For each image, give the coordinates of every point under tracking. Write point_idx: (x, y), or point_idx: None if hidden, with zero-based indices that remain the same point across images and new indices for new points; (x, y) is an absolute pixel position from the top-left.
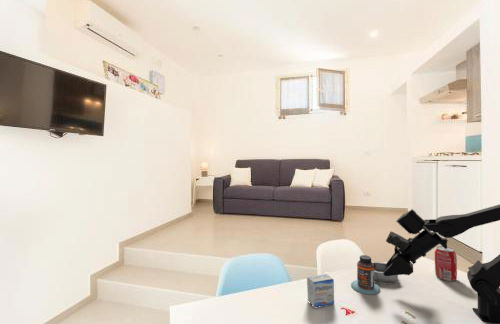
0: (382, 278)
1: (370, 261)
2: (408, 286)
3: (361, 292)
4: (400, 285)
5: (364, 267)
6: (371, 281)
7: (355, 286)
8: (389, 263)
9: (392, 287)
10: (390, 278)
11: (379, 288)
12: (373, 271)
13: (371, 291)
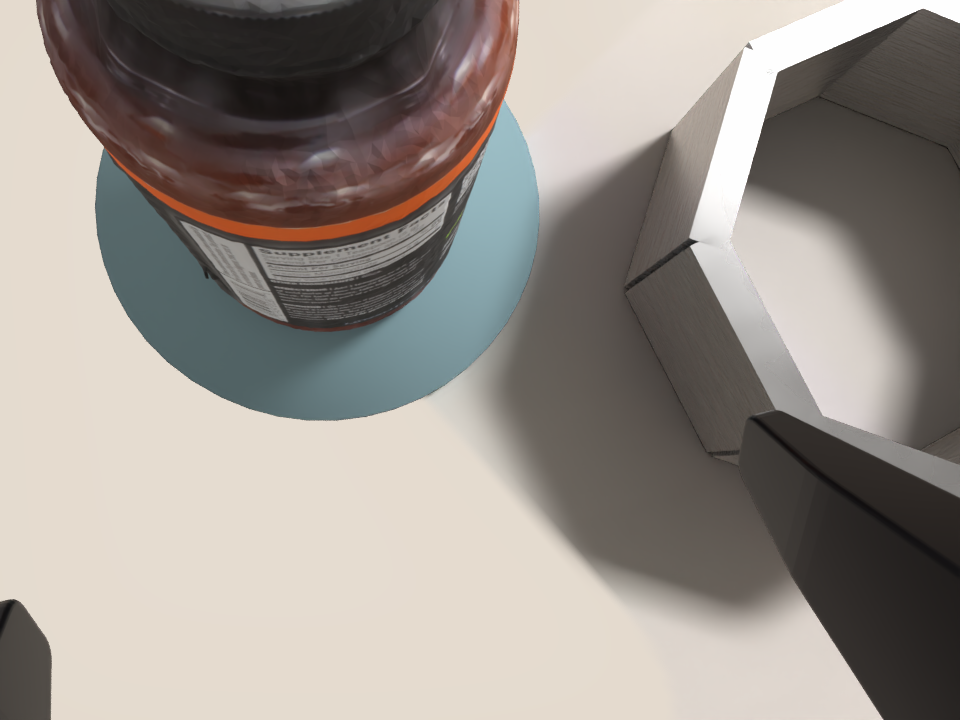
0: (688, 344)
1: (229, 67)
2: (839, 687)
3: (98, 225)
4: (783, 585)
5: (44, 36)
6: (239, 289)
7: None
8: (801, 510)
9: (628, 517)
10: None
11: (415, 392)
12: (288, 257)
13: (221, 334)
